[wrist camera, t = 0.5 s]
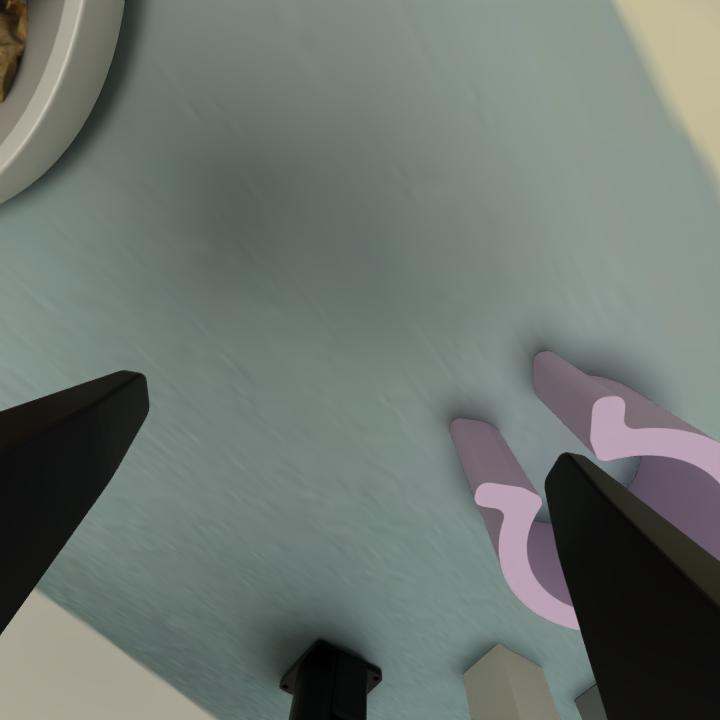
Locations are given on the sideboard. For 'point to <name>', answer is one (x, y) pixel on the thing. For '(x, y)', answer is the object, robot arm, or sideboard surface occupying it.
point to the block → (508, 688)
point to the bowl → (49, 79)
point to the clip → (607, 442)
